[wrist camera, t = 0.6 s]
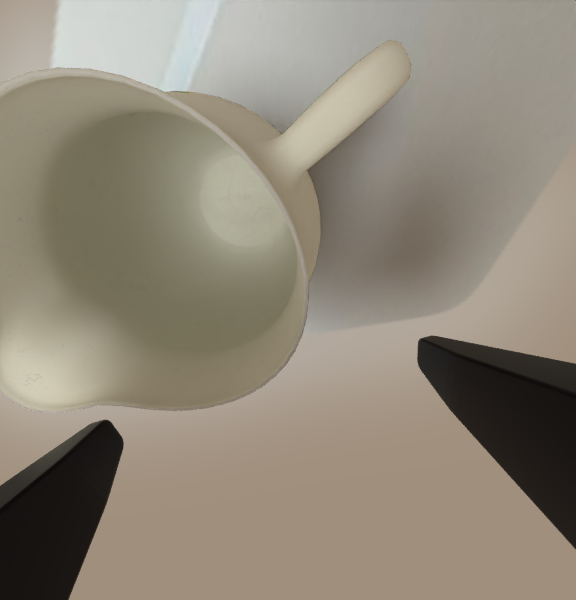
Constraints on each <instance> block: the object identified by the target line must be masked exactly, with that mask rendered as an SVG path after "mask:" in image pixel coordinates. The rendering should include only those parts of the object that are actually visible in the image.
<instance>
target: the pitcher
mask: <svg viewBox="0 0 576 600" xmlns="http://www.w3.org/2000/svg"><path fill="white" fill-rule="evenodd" d="M410 71H411V62H410V60H409V57H408V54H407V52H406V50H405V49H404V47H403V45H402V43H399V42H396V41H393V40H388V41H387V42H385V43H383V44H382V45H380V46H379V47H377V48H376V49H375V50H373V51H372V52H370V53H369V54H367V55H366V56H365V57H364V58H362V59H361V60H360V61H358V62H357V63H356V64H355V65H354V66H352V67H351V68H350V69H349V70H348V71H347V72H346V73H344V74H343V75H342V76H341V77H340V78H339V79H338V80H337V81H336V82H334V83H333V84H332V85H331V86H330V87H329V88H328V89H327V90H326V91H325V92H324V93H323V94H322V95H321V96H320V97H319V98H318V99H317V100H316V101H315V102H314V103H313V104H312V105H311V106H310V107H308V108H307V109H306V110H305V111H304V113H303V114H302V115H301V116H300V117H299V118H298V119H297V120H296V121H295V122H294V123H293V124H292V125H291V126H290V127H289V128H288V129H287V130H286V131H285V132H284V133H283V134H280V133H279V132H278V131H277V130H276V129H275V128H274V127H273V126H272V125H271V124H269V123H268V122H267V121H265V120H264V119H263V118H261V117H260V116H259V115H257V114H255V113H253V112H252V111H250V110H248V109H246V108H244V107H242V106H240V105H238V104H236V103H233V102H231V101H228V100H225V99H223V98H220V97H216V96H211V95H206V94H202V93H196V92H180V91H172V92H163V91H161V90H159V89H157V88H154V87H151V86H149V85H146V84H143V83H141V82H138V81H135V80H133V79H130V78H127V77H125V76H121V75H117V74H112V73H107V72H102V71H98V70H93V69H81V68H52V69H46V70H39V71H33V72H28V73H25V74H23V75H20V76H18V77H15V78H12V79H10V80H7V81H5V82H3V83H1V84H0V392H1V393H2V394H3V395H4V396H6V397H7V398H8V399H10V400H11V401H12V402H14V403H16V404H18V405H20V406H22V407H24V408H26V409H30V410H34V411H38V412H65V411H75V410H80V409H85V408H90V407H94V406H108V405H109V406H125V407H133V408H142V409H150V410H164V411H183V410H196V409H204V408H209V407H214V406H218V405H222V404H226V403H229V402H232V401H235V400H238V399H240V398H242V397H244V396H246V395H249V394H251V393H253V392H254V391H256V390H257V389H259V388H261V387H262V386H264V385H265V384H266V383H268V382H269V381H270V380H271V379H273V378H274V377H275V376H276V375H277V374H278V373H279V372H280V371H281V370H282V369H283V368H284V366H285V365H286V364H287V363H288V361H289V360H290V358H291V356H292V355H293V353H294V352H295V350H296V348H297V346H298V343H299V341H300V339H301V337H302V334H303V330H304V326H305V322H306V319H307V310H308V300H309V292H308V283H309V281H310V279H311V276H312V274H313V271H314V268H315V264H316V260H317V257H318V252H319V246H320V237H321V228H320V211H319V205H318V199H317V196H316V192H315V189H314V185H313V183H312V180H311V178H310V176H309V173H308V171H307V170H308V169H309V168H310V167H312V166H313V165H314V164H315V163H316V162H318V161H319V160H320V159H321V158H323V157H324V156H325V155H326V154H327V153H329V152H330V151H331V150H332V149H333V148H335V147H336V146H337V145H338V144H339V143H341V142H342V141H343V140H344V139H345V138H347V137H348V136H349V135H350V134H351V133H352V132H354V131H355V130H356V129H357V128H358V127H359V126H361V125H362V124H363V123H364V122H365V121H366V120H368V119H369V118H370V117H371V116H372V115H373V114H374V113H375V112H377V111H378V110H379V109H380V108H381V107H382V106H383V105H384V104H385V103H387V102H388V101H389V100H390V99H391V98H392V97H393V96H394V95H395V94H396V93H397V92H398V91H399V89H400V88H401V87H402V86H403V85H404V84H405V82H406V81H407V80H408V79H409V77H410Z"/></svg>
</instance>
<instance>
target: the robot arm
mask: <svg viewBox="0 0 576 600" xmlns="http://www.w3.org/2000/svg"><path fill="white" fill-rule="evenodd" d="M417 359H418V365H419V367H420V369H421V371H422V372H423V373H424V375H425V376H426V378H427V379H428V380H429V382H430V383H431V385H432V386H433V387H434V389H435V390H436V391H437V393H438V394H439V396H440V397H441V398H442V400H443V401H444V402H445V404H446V405H447V406H448V407H449V409H450V410H451V411H452V412H453V414H454V415H455V416H456V417H457V418H458V419H459V420H460V421H461V423H462V424H463V425H464V426H465V427H466V428H467V429H468V430H469V431H470V433H471V434H472V435H473V436H474V437H475V438H476V439H477V440H478V441H479V443H480V444H481V445H482V446H483V447H484V448H485V449H486V450H487V451H488V453H489V454H490V455H491V456H492V457H493V458H494V459H495V460H496V461H497V463H499V465H500V466H501V467H502V468H503V469H504V470H505V471H506V473H507V474H508V475H509V476H510V477H511V478H512V479H513V480H514V481H515V482H516V484H517V485H518V486H519V487H520V488H521V489H522V490H523V491H524V492H525V494H526V495H527V496H528V497H529V498H530V499H531V500H532V501H533V503H534V504H535V505H536V506H537V507H538V508H539V509H540V510H541V511H542V512H543V513H544V515H545V516H546V517H547V518H548V519H549V520H550V521H551V522H552V524H553V525H554V526H555V527H556V528H557V529H558V530H559V531H560V532H561V533H562V535H563V536H564V537H565V538H566V539H567V540H568V541H569V542H570V544H571V545H572V546H573V547H574V548H575V549H576V364H574V363H569V362H563V361H559V360H554V359H549V358H544V357H539V356H534V355H528V354H524V353H519V352H514V351H509V350H503V349H499V348H493V347H488V346H483V345H479V344H473V343H468V342H463V341H458V340H453V339H448V338H443V337H438V336H428V337H424V338H421V339H420V340H419V341H418V357H417ZM122 450H123V439H122V437H121V435H120V434H119V432H118V431H117V430H116V428H115V427H114V426H113V424H112V423H111V422H110V421H109V420H102V421H98V422H94V423H91V424H90V425H88V426H86V427H85V428H84V429H82V430H81V431H79V432H78V433H76V434H75V435H73V436H72V437H71V438H69V439H68V440H66V441H65V442H63V443H62V444H60V445H59V446H57V447H56V448H54V449H53V450H52V451H50V452H49V453H47V454H46V455H44V456H43V457H41V458H40V459H38V460H37V461H36V462H34V463H33V464H31V465H30V466H28V467H27V468H25V469H24V470H22V471H21V472H20V473H18V474H17V475H15V476H14V477H12V478H11V479H10V480H8V481H6V482H5V483H4V484H2V485H1V486H0V600H69V597H70V595H71V592H72V590H73V587H74V584H75V582H76V580H77V577H78V575H79V572H80V570H81V567H82V564H83V562H84V559H85V557H86V554H87V552H88V549H89V547H90V544H91V542H92V539H93V537H94V534H95V532H96V529H97V526H98V524H99V522H100V519H101V517H102V514H103V512H104V509H105V506H106V503H107V501H108V497H109V494H110V491H111V488H112V484H113V481H114V477H115V474H116V471H117V467H118V464H119V461H120V457H121V454H122Z"/></svg>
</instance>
